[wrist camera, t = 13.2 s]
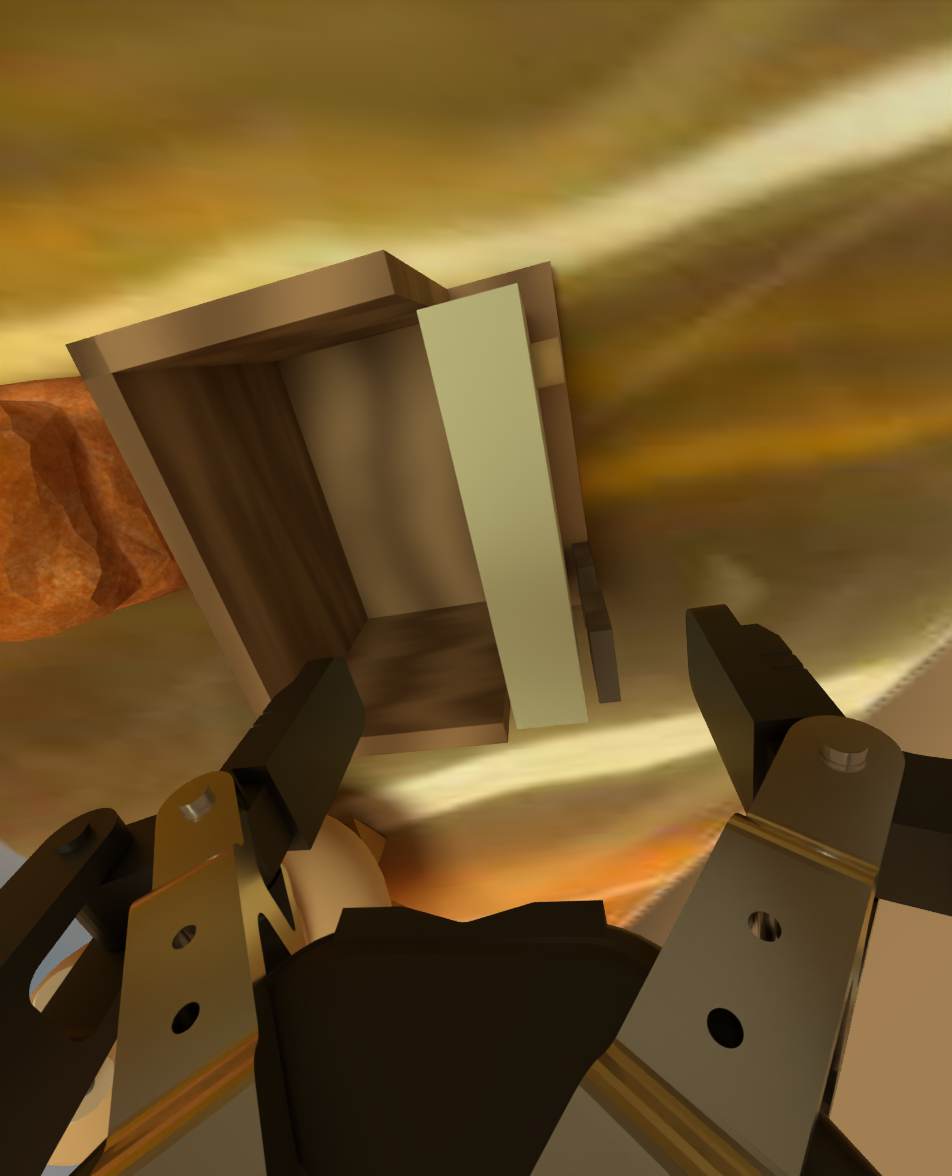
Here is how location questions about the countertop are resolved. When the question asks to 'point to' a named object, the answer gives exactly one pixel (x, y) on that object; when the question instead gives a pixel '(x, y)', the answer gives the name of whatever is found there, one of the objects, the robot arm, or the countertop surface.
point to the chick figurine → (321, 890)
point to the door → (509, 492)
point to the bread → (70, 516)
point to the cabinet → (334, 491)
